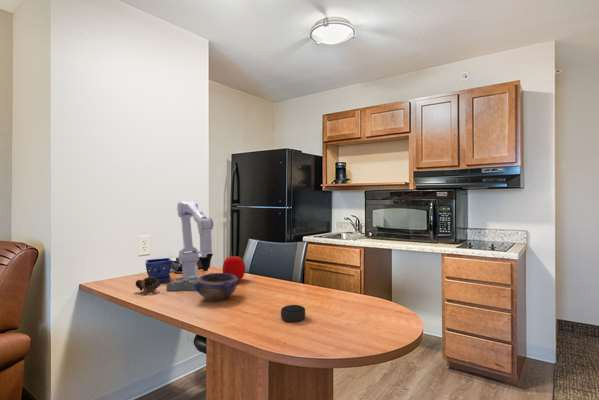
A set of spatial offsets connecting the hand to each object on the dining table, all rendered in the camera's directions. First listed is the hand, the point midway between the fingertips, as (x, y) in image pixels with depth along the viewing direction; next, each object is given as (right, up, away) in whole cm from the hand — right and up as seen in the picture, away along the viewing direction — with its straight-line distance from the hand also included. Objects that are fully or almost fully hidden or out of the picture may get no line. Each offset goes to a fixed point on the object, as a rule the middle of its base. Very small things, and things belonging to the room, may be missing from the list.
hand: (206, 269), depth 172 cm
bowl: (+10, -9, -19) cm, 23 cm away
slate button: (-7, -8, 0) cm, 11 cm away
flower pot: (-32, -11, +19) cm, 38 cm away
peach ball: (-14, -8, +1) cm, 16 cm away
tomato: (+11, -9, +14) cm, 20 cm away
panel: (-7, -10, 0) cm, 12 cm away
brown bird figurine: (-28, -11, -4) cm, 30 cm away
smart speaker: (+45, -9, -48) cm, 66 cm away
